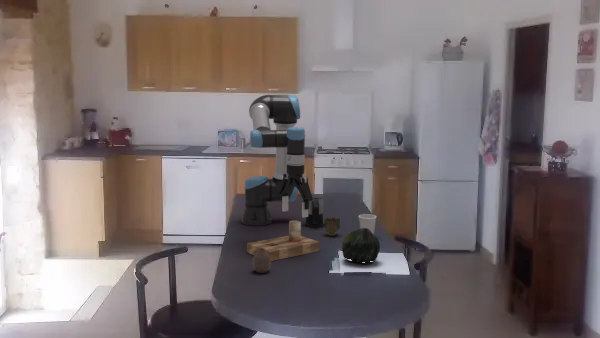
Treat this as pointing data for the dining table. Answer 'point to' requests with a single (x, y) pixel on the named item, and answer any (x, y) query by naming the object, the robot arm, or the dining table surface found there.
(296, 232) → the beech peg
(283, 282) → the dining table surface
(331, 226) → the wire cup brush
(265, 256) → the vase
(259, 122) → the robot arm
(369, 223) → the dixie cup
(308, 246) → the oak board
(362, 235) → the squash
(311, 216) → the milk frother
